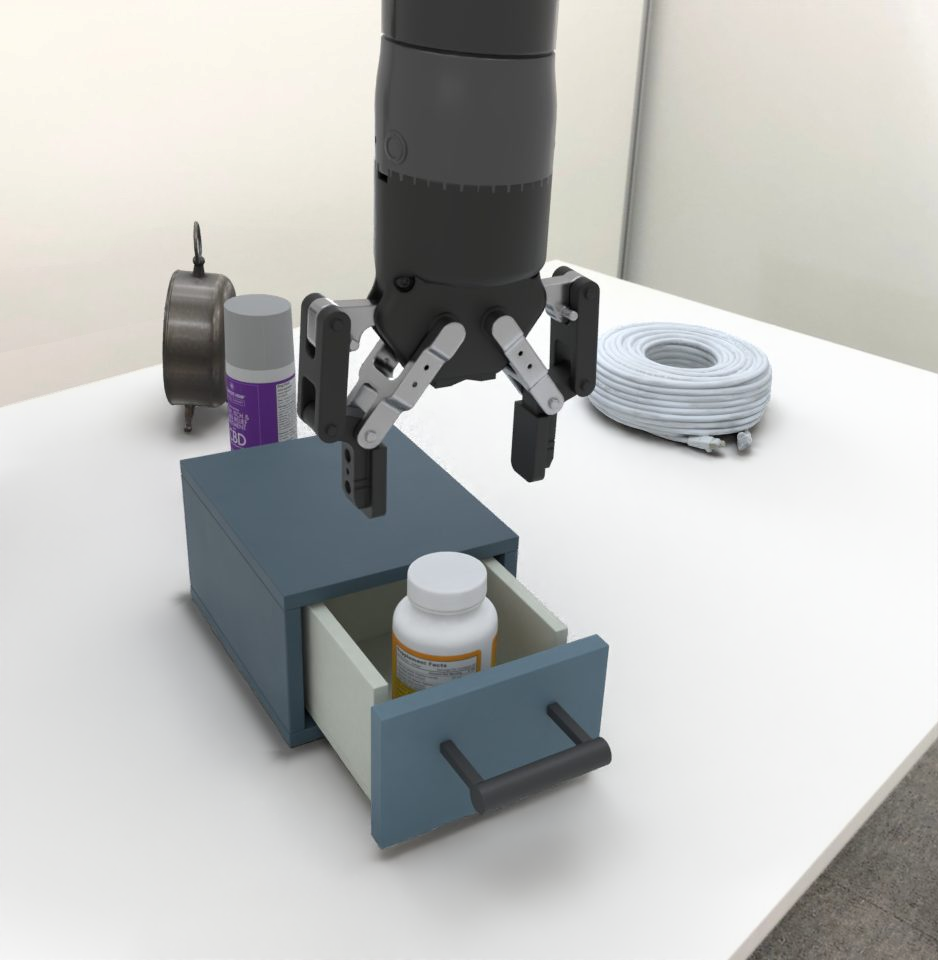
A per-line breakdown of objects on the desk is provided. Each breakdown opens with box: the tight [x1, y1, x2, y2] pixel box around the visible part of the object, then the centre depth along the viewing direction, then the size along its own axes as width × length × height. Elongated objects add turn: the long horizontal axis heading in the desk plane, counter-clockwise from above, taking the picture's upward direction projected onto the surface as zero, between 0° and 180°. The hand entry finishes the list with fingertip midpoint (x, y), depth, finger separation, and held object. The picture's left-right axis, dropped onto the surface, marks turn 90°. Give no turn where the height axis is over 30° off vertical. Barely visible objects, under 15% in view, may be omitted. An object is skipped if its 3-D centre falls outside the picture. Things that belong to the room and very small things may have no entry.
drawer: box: [301, 556, 613, 850], centre depth 63 cm, size 20×13×8 cm, turn 36°
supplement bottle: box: [392, 552, 498, 700], centre depth 62 cm, size 5×5×10 cm
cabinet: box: [179, 423, 520, 749], centre depth 72 cm, size 17×14×10 cm
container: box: [224, 293, 299, 451], centre depth 85 cm, size 5×5×15 cm
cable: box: [586, 321, 773, 453], centre depth 110 cm, size 18×18×6 cm
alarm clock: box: [161, 220, 237, 434], centre depth 97 cm, size 11×5×16 cm, turn 10°
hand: (450, 492), depth 58 cm, fingers open, 8 cm apart
